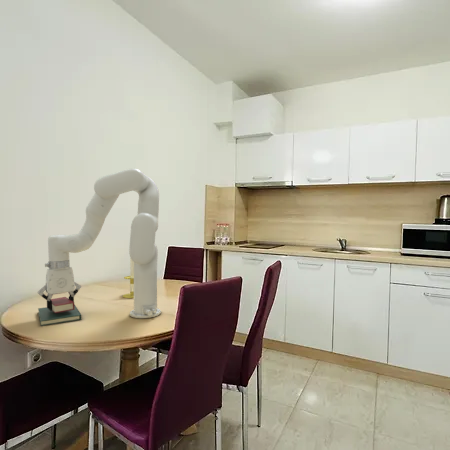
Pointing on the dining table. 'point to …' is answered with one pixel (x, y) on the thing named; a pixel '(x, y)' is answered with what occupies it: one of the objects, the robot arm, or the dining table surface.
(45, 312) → the green book
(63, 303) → the burgundy book
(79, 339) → the dining table surface
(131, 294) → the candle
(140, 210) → the robot arm
